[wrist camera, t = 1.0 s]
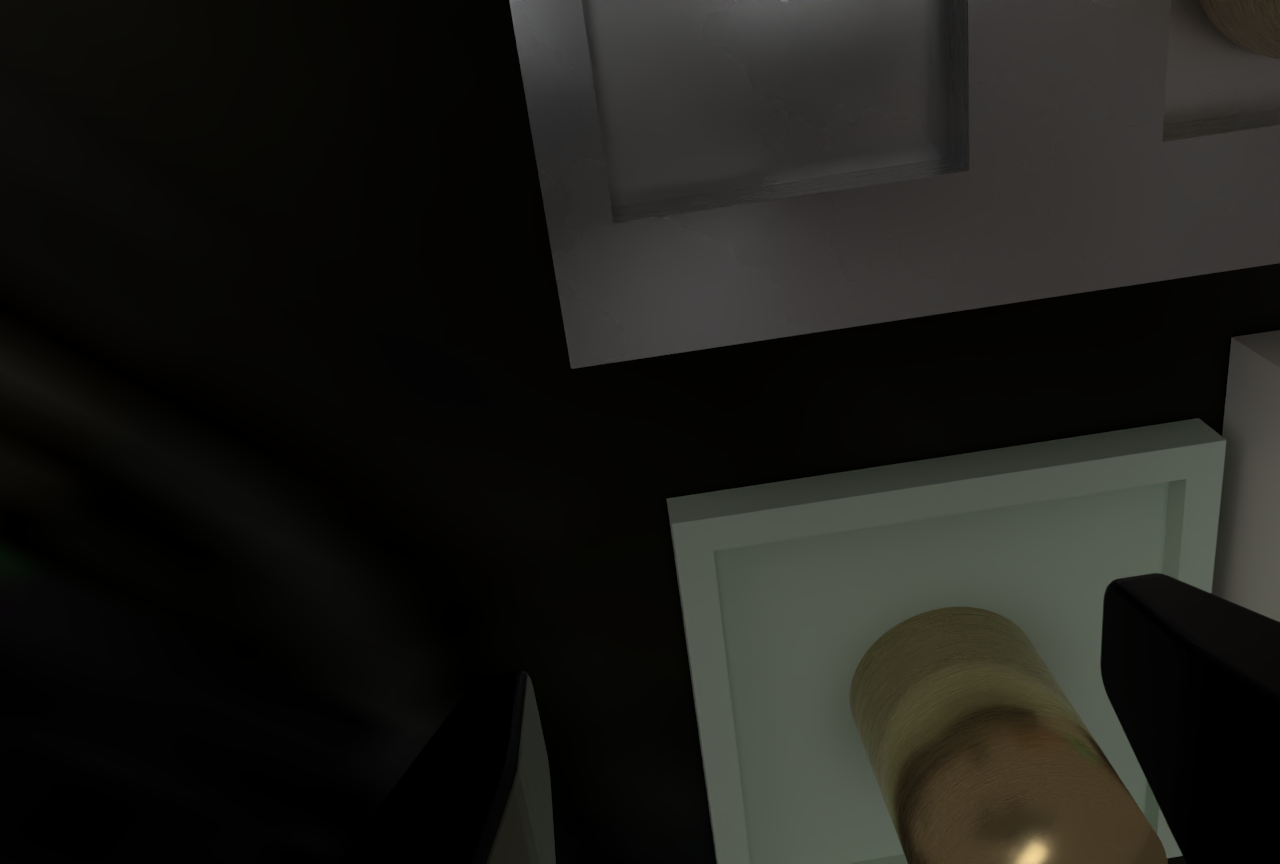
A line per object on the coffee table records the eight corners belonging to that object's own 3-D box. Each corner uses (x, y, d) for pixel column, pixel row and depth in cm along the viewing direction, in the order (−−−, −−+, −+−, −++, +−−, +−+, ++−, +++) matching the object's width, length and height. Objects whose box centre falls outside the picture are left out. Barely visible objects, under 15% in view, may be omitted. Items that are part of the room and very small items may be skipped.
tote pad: (1163, 823, 27) (1185, 855, 26) (720, 891, 26) (726, 926, 26) (1198, 418, 22) (1226, 440, 21) (666, 498, 22) (671, 524, 21)
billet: (1037, 747, 25) (1160, 959, 20) (854, 775, 25) (932, 995, 20) (1040, 592, 23) (1175, 782, 18) (844, 622, 23) (927, 821, 18)
